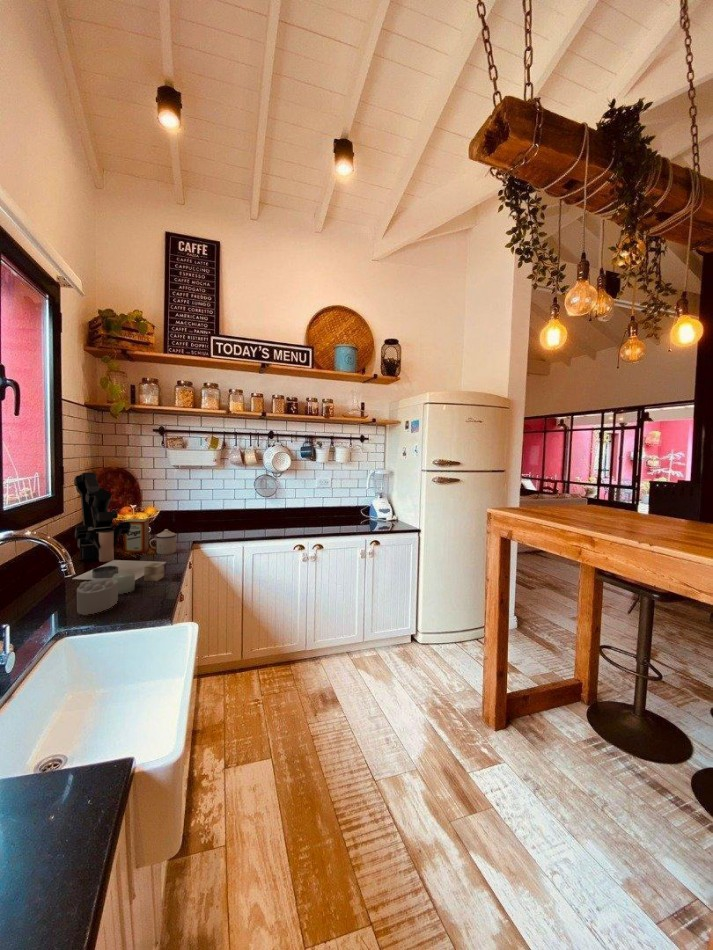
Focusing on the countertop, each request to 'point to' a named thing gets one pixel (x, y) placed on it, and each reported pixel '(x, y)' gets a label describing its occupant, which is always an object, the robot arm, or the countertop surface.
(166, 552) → the teacup with lid
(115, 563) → the board
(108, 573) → the metal collar
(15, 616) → the countertop surface
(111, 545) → the pink cylinder
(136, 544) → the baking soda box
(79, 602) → the lumpy-topped squat cylinder
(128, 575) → the sage jar
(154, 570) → the birch block
